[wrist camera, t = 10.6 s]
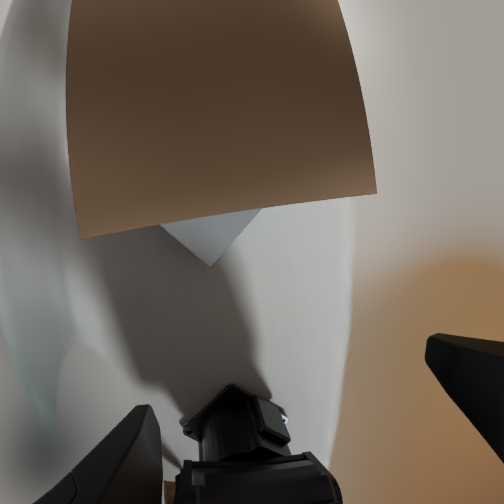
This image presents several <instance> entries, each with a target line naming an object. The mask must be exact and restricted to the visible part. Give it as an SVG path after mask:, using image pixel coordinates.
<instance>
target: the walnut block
mask: <svg viewBox="0 0 504 504" xmlns="http://www.w3.org/2000/svg"><path fill="white" fill-rule="evenodd" d="M66 122H67V141H68V154H69V165H70V174H71V183H72V191H73V198H74V205H75V211H76V218H77V224H78V229H79V235H80V240H82V239H87V238H92V237H97V236H102V235H107V234H112V233H117V232H122V231H127V230H133V229H138V228H144V227H149V226H155V225H160V224H166V223H172V222H177V221H183V220H189V219H195V218H201V217H207V216H214V215H220V214H226V213H233V212H239V211H246V210H253V209H259V208H266V207H273V206H281V205H288V204H295V203H303V202H311V201H319V200H327V199H335V198H343V197H352V196H361V195H370V194H377V190H376V180H375V171H374V164H373V156H372V148H371V142H370V135H369V129H368V124H367V117H366V112H365V106H364V101H363V96H362V91H361V87H360V82H359V77H358V73H357V68H356V64H355V60H354V56H353V52H352V48H351V44H350V40H349V37H348V33H347V29H346V26H345V22H344V19H343V16H342V12H341V9H340V6H339V3H338V0H72V6H71V13H70V22H69V32H68V45H67V62H66Z"/></svg>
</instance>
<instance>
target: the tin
mask: <svg viewBox="0 0 504 504" xmlns="http://www.w3.org/2000/svg"><path fill="white" fill-rule="evenodd" d="M174 497H175V482H169V481H164V498H165V504H173V501H174Z"/></svg>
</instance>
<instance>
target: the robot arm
mask: <svg viewBox="0 0 504 504" xmlns="http://www.w3.org/2000/svg"><path fill="white" fill-rule="evenodd" d="M425 362H426V364H427V365H428V367H429V368H430V369H431V371H432V373H433V374H434V375H435V377H436V378H437V380H438V381H439V383H440V384H441V386H442V387H443V389H444V390H445V391H446V393H447V394H448V395H449V397H450V398H451V399H452V400H453V401H454V403H455V404H456V405H457V406H458V407H459V409H460V410H461V411H462V412H463V413H464V414H465V416H466V417H467V418H468V419H469V420H470V422H471V423H472V424H473V425H474V427H475V428H476V429H477V430H478V432H479V433H480V434H481V435H482V437H483V438H484V439H485V440H486V442H487V443H488V444H489V445H490V447H491V448H492V449H493V450H494V452H495V453H496V454H497V455H498V457H499V458H500V459H501V461H502V462H503V463H504V342H500V341H492V340H484V339H477V338H470V337H462V336H455V335H449V334H442V333H436V334H434V335H431V336H429V337H428V339H427V343H426V351H425ZM230 390H235V391H233V392H229V391H230ZM287 422H288V417H287V415H285V414H284V413H282V412H280V411H279V409H278V407H276V406H274V405H272V404H271V403H269V402H267V401H266V400H264V399H262V398H260V397H259V396H257V395H251V394H249V393H248V392H246V391H244V390H243V389H241V388H239V387H238V386H236V385H234V384H230V385H228V386H226V387H225V388H224V389H223V390H222V391H221V392H220V393H219V394H218V395H217V396H216V397H215V398H214V399H213V400H212V401H211V402H210V403H209V404H208V405H207V406H206V407H205V408H204V409H203V410H202V411H200V412H199V413H198V414H197V415H196V416H195V417H194V418H193V419H192V420H191V421H190V422H189V423H188V424H186V425H185V426H184V428H183V433H184V434H185V435H186V436H188V437H190V438H192V439H194V440H196V441H198V444H199V461H192V460H184V465H183V468H181V470H180V474H178V475H176V478H175V497H174V501H173V504H343V502H342V495H341V491H340V488H339V485H338V483H337V481H336V479H335V478H334V477H333V475H332V474H331V473H330V472H329V471H328V470H327V469H326V468H325V467H324V466H323V465H322V464H321V463H320V462H319V460H318V459H317V458H316V457H315V456H314V455H313V454H312V453H311V452H310V451H309V452H303V453H302V454H298V455H291V452H290V450H289V447H288V445H287V444H288V443H289V442H290V436H289V433H288V431H287V428H286V426H285V424H286V423H287ZM187 430H191V431H187ZM162 482H163V467H162V452H161V435H160V427H159V424H158V421H157V419H156V416H155V414H154V411H153V409H152V407H151V406H150V405H149V404H146V405H137V406H135V407H134V408H133V409H132V410H131V411H130V412H129V413H128V415H127V416H126V417H125V418H124V419H123V420H122V421H121V422H120V423H119V424H118V425H117V426H116V427H115V428H114V429H113V430H112V431H111V432H110V433H109V434H108V435H107V436H106V437H105V438H104V439H103V440H102V441H101V442H100V443H99V444H98V445H97V446H96V447H95V448H94V449H93V450H91V452H89V453H88V455H86V456H85V457H84V458H83V459H82V461H80V462H79V463H78V464H77V465H76V466H75V467H74V468H73V469H72V470H71V472H69V473H68V474H67V475H66V476H65V477H64V478H63V479H62V480H61V481H59V483H57V484H56V485H55V486H54V487H53V488H52V489H51V490H49V491H48V492H47V493H46V494H45V495H43V496H42V497H41V498H39V499H38V500H37V501H35V502H34V503H33V504H162V502H161V501H162Z"/></svg>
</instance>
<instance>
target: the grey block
mask: <svg viewBox="0 0 504 504" xmlns="http://www.w3.org/2000/svg"><path fill="white" fill-rule="evenodd" d="M261 209H262V208H259V209H253V210H246V211H239V212H233V213H226V214H220V215H214V216H207V217H201V218H195V219H189V220H183V221H177V222H172V223H166V224H160V225H161V226H162V227H163V228H164V229H165V230H166V231H168V232H169V233H170V234H171V235H172V236H173V237H175V238H176V239H177V240H178V241H179V242H180V243H182V244H183V245H184V246H185V247H186V248H188V249H189V250H190V251H191V252H192V253H193V254H195V255H196V256H197V257H198V258H199V259H201V260H202V261H203V262H204V263H205V264H207V265H208V266H209V267H211V266H212V265H213V264H214V263H215V262H216V260H217V259H218V258H219V257H220V256H221V255H222V254H223V252H224V251H225V250H226V249H227V248H228V247H229V246H230V244H231V243H232V242H233V241H234V240H235V239H236V238H237V236H238V235H239V234H240V233H241V232H242V231H243V230H244V228H245V227H246V226H247V225H248V224H249V223H250V222H251V220H252V219H253V218H254V217H255V216H256V215H257V214H258V213H259V211H260V210H261Z"/></svg>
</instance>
